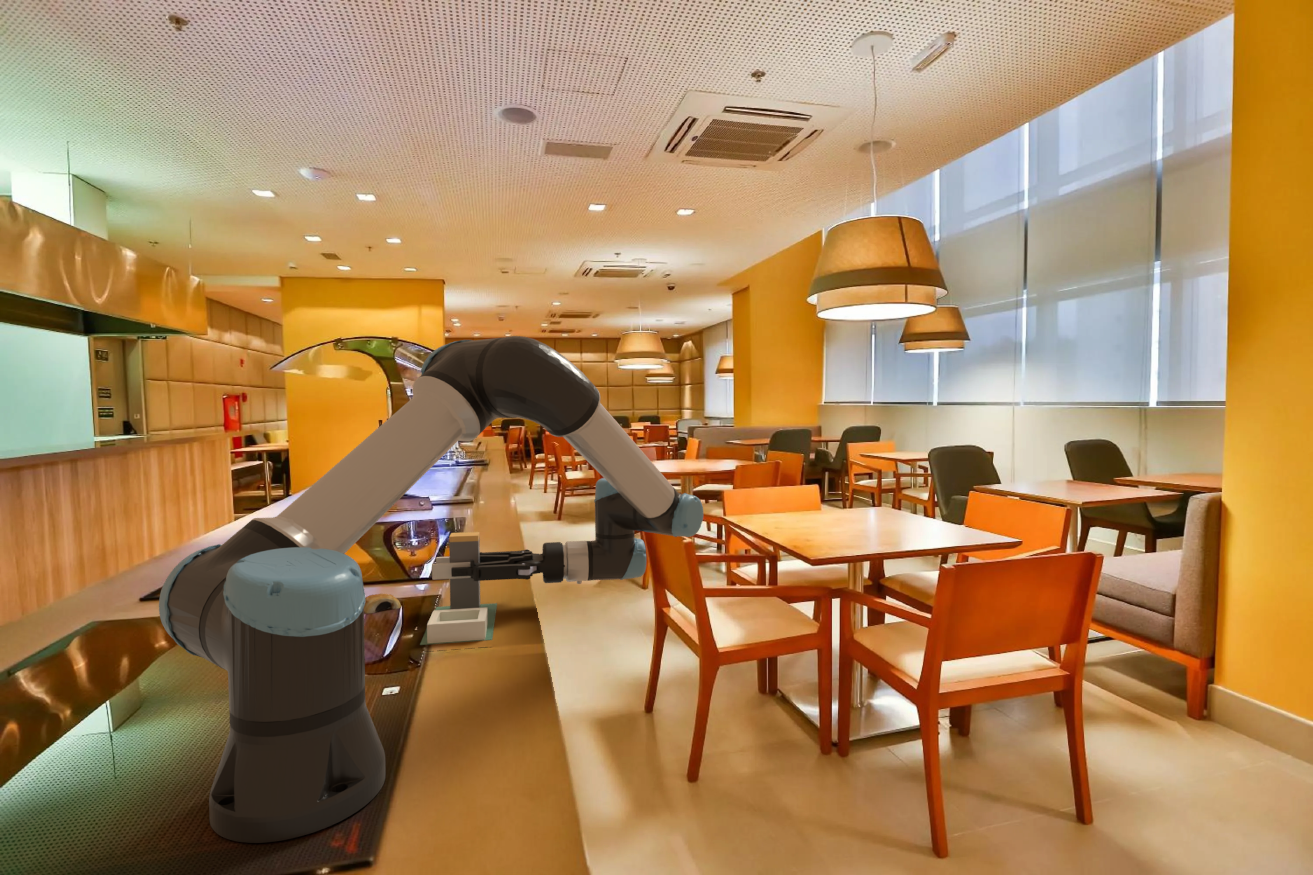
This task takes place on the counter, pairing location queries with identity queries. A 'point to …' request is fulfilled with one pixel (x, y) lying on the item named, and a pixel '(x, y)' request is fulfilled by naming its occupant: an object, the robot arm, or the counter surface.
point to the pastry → (380, 603)
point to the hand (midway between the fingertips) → (434, 568)
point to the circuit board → (489, 636)
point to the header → (457, 625)
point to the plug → (464, 589)
